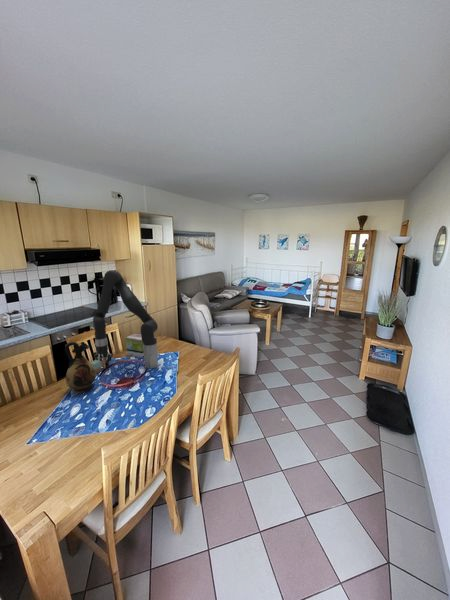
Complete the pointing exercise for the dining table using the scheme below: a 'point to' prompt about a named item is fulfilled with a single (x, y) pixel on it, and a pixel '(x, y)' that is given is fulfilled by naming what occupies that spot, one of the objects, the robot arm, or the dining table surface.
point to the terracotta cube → (103, 363)
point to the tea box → (134, 345)
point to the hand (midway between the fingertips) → (104, 366)
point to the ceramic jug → (79, 369)
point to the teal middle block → (96, 364)
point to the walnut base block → (98, 370)
